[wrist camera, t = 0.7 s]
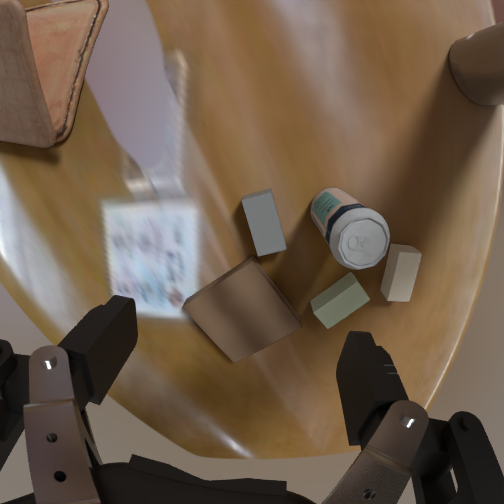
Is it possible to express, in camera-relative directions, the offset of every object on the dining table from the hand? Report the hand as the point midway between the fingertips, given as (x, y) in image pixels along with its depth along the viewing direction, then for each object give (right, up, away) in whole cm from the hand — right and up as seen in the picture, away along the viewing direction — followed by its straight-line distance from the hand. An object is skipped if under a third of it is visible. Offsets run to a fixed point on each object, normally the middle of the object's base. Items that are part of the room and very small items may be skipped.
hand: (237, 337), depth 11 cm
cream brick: (+18, +1, +23) cm, 29 cm away
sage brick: (+11, -2, +25) cm, 27 cm away
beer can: (+9, +8, +21) cm, 25 cm away
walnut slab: (0, -4, +26) cm, 26 cm away
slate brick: (+2, +7, +22) cm, 23 cm away
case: (-29, +28, +16) cm, 43 cm away
